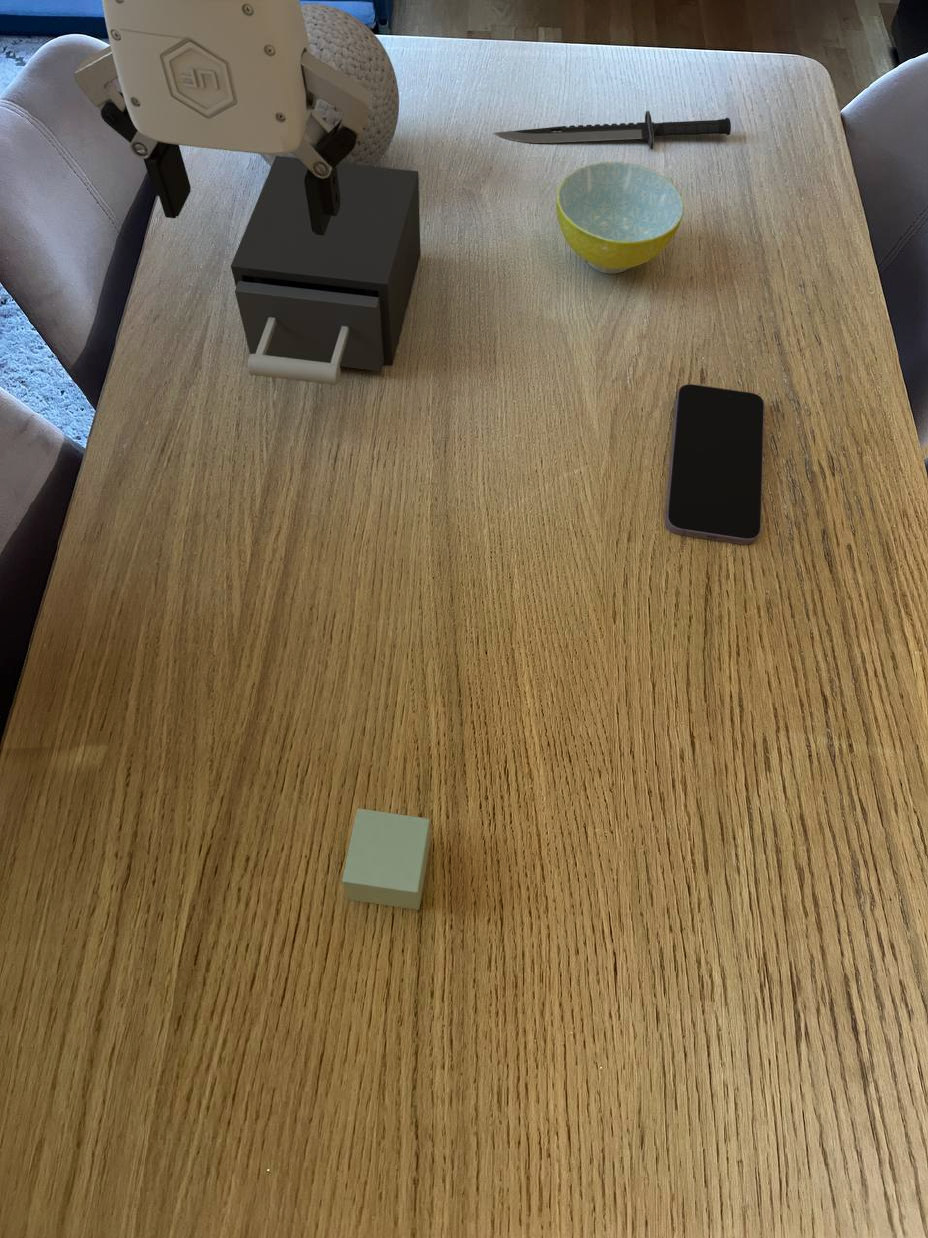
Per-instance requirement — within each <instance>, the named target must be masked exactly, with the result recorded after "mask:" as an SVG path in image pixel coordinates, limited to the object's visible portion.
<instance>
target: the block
mask: <svg viewBox="0 0 928 1238" xmlns="http://www.w3.org/2000/svg"><path fill="white" fill-rule="evenodd" d="M431 840H432V838H431V819H430V818H427V817H421V816H420V817H419V816H414V815H406V814H400V813H394V812H388V811H387V812H386V811H379V810H373V809H366V808H359V807H358V808H357V809H356V812H355V816H354V822H353V827H352V832H351V836H350V840H349V846H348V851H347V855H346V860H345V865H344V870H343V874H342V879H341V882H342V885H343V888H344V891H345V894H346V896H347V898H348V899H347V900H349V901H355V902H362V903H369V904H375V905H381V906H387V907H395V908H400V909H401V908H402V909H406V910H407V909H408V910H413V911H419V910H420V909H421V903H422V896H423V891H424V885H425V879H426V871H427V865H428V860H429V854H430V849H431V848H430V847H431V842H432V841H431Z"/></svg>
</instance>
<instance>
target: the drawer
mask: <svg viewBox="0 0 928 1238" xmlns="http://www.w3.org/2000/svg"><path fill="white" fill-rule="evenodd" d="M253 280H254V283H252V282H243V281H238V284H237V286H235V289H234V294H235V298H236V301H237V306H238V311H239V315H240V318H241V319H240V320H241V323H242V327H243V331H244V335H245V340H246V344H247V347H248V352H249V355H248V359H247V371H248V374H249V375H251V376H258V377H266V378H267V377H268V378H275V379H283V380H291V381H298V382H299V381H301V382H308V383H315V384H322V385H323V384H324V385H332V386H338V385H339V383H340V379H341V367H343V368H344V367H345V368H353V369H361V370H369V371H377V372H382V371H383V366H384V365H383V363H384V356H383V342H382V328H381V314H380V300H379V292H378V291H373V290H365V289H356V288H348V287H339V286H330V285H322V284H313V283H305V282H296V281H287V280H279V279H270V278H262V277H253Z"/></svg>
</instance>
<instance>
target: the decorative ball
mask: <svg viewBox="0 0 928 1238" xmlns="http://www.w3.org/2000/svg"><path fill="white" fill-rule="evenodd" d="M300 5H301V9H302V14H303V18H304V22H305V27H306V32H307V36H308V41H309V46H310V51H311V55H312V56H314V57H316V58H317V59H319V60H321V61H322V62H324V63H326V64H327V65H329V66H331V67H332V68H334V69H336V70H337V71H339V72H341V73H342V74H344V75H346V76H347V77H349V78H350V79H352V80H354V81H355V82H357V83H359V84H360V85H362V86H364V87H365V88H367V89H369V90H370V91H371V92H372V93H373V95H374V103H373V106H372V109H371V111H370V114H369V116H368V118H367V121H366V123H365V125H364V127H363V129H362V132H361V134H360V136H359V138H358V140H357V142H356V145H355V147H354V149H353V150H352V151H351V152H350V153H349V154H348V155H347V156H346V157H345V158H344V159H343V160H342V161H341V162H340V163H347V164H356V165H365V166H374V167H377V165H378V164H379V163H380V162H381V160H382V159H383V157H384V156H385V155H386V153H387V152H388V149H389V147H390V146H391V144H392V141H393V139H394V137H395V133H396V130H397V127H398V121H399V113H400V92H399V85H398V80H397V75H396V72H395V69H394V66H393V63H392V61H391V58H390V56H389V54H388V52H387V50H386V48H385V46H384V45H383V43H382V42H381V41H380V39H379V38H378V37H377V36H376V34H375V33H374V32H373V31H372V30H371V29H370V28H369V27H368V26H367V25H366V24H365V23H363V22H362V21H361V20H360V19H358V18H357V17H355V16H354V15H353V14H350V13H349V12H347V11H344V10H343V9H340V8H337V7H334V6H332V5H328V4H322V3H300ZM314 110H315V111H316V112H317V114H318V115H319V116H320V117H321V118H322V119H323V120H324V121H325V122H326V124H327V125H328V126H329V127H330V128H331V129H333V128H334V127H335V126H336V125H337V124H338V123H339V122H340V121H341V120H342V119H343V116H342V113H341V111H340V110H339V109H338V108H336V107H334V106H333V105H331V104H329V103H328V102H326V101H324V100H323V99H321V98H319V97H317V102H316V107H315V109H314ZM259 156H260V157H261V158H262V159H263V160H264V161H265V163H266V164H268V165H269V166H270V168H271V167H272V164H273V162H274V159H275V157H276V156H283V157H292V158H298V157H297V156H296V155H295V154H294V153H293V152H290V153H287V154H282V155H269V154H259Z"/></svg>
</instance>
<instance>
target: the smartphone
mask: <svg viewBox="0 0 928 1238" xmlns="http://www.w3.org/2000/svg"><path fill="white" fill-rule="evenodd" d="M764 401H765V400H764V398H763V397H762V396H761V395H759V394H758V393H755V392H750V391H744V390H736V389H729V388H724V387H723V388H721V387H715V386H707V385H700V384H694V383H687V384H683V385H681V386H680V387H679V389H678V390H677V393H676V397H675V407H674V417H673V429H672V439H671V440H672V441H671V451H670V463H669V464H670V465H669V474H668V485H667V497H666V508H665V517H664V518H665V519H664V521H665V526H666V528H667V529H668V531H670V532H671V533H673V534H676V535H679V536H680V535H681V536H684V537H685V536H686V537H693V538H698V539H705V540H711V541H718V542H723V543H724V542H725V543H730V544H738V545H752V544H754V543H756V541H757V540H758V538H759V537H760V535H761V532H762V508H763V507H762V506H763V475H764V474H763V473H764V470H763V469H764V438H765V408H766V407H765V402H764Z"/></svg>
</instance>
